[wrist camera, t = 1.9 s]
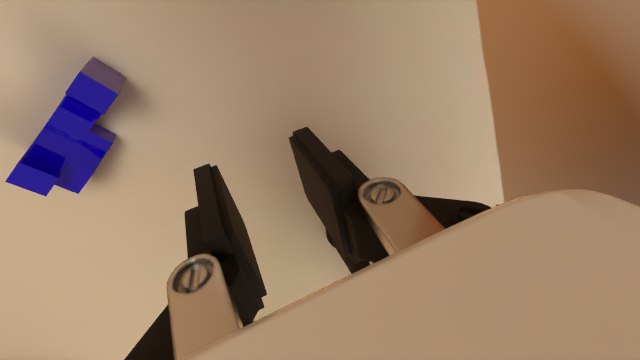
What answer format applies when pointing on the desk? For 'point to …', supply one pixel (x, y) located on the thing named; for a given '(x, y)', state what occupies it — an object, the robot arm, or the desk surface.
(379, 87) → the desk surface
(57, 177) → the cable holder
